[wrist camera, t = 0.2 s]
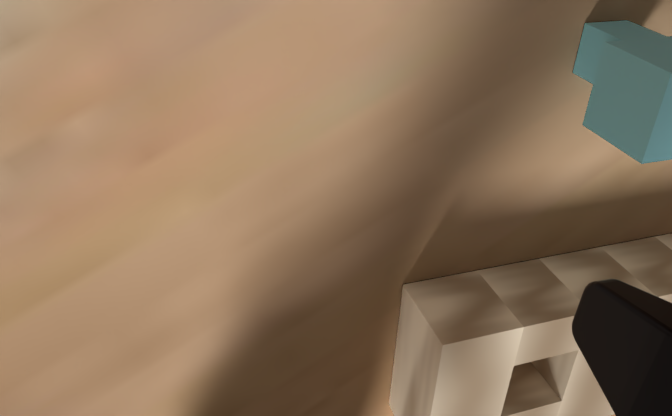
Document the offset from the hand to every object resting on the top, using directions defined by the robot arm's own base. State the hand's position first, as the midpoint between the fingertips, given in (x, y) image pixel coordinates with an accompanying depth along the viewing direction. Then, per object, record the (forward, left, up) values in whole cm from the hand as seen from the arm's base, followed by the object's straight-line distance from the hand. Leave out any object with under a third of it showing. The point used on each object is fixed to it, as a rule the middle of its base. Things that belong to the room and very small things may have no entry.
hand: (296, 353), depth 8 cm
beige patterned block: (-16, -18, -14) cm, 28 cm away
